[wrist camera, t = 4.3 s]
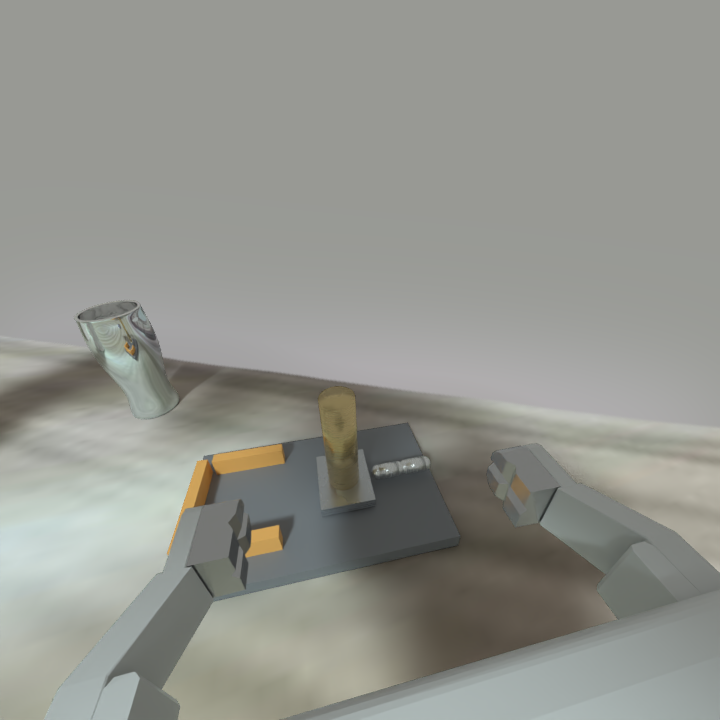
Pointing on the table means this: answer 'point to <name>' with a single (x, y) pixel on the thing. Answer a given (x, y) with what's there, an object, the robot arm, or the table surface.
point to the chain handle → (349, 457)
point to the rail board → (303, 510)
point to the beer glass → (129, 355)
